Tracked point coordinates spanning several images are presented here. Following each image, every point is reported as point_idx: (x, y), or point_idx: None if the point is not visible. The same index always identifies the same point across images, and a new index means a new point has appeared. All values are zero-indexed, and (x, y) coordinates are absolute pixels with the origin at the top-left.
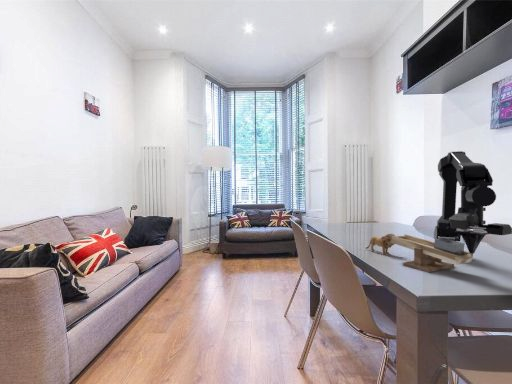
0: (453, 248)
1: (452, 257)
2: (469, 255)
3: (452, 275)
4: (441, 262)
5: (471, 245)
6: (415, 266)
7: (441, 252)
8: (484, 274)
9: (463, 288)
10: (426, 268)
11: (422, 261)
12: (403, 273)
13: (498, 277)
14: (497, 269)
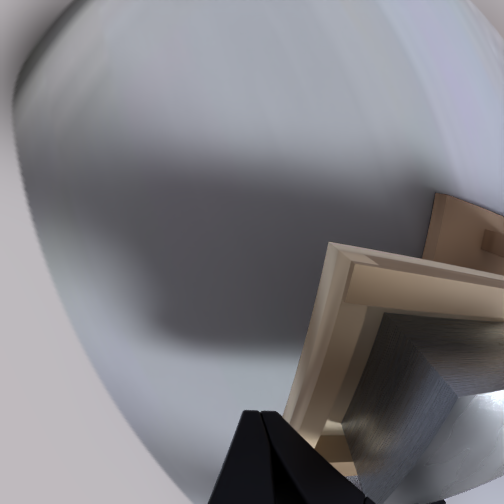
0: (447, 364)
1: (396, 264)
2: None
3: (329, 238)
4: None
5: (260, 486)
6: (495, 213)
7: (488, 284)
8: (214, 406)
9: (177, 12)
10: (458, 203)
11: (498, 252)
12: (478, 75)
13: (148, 401)
14: None
